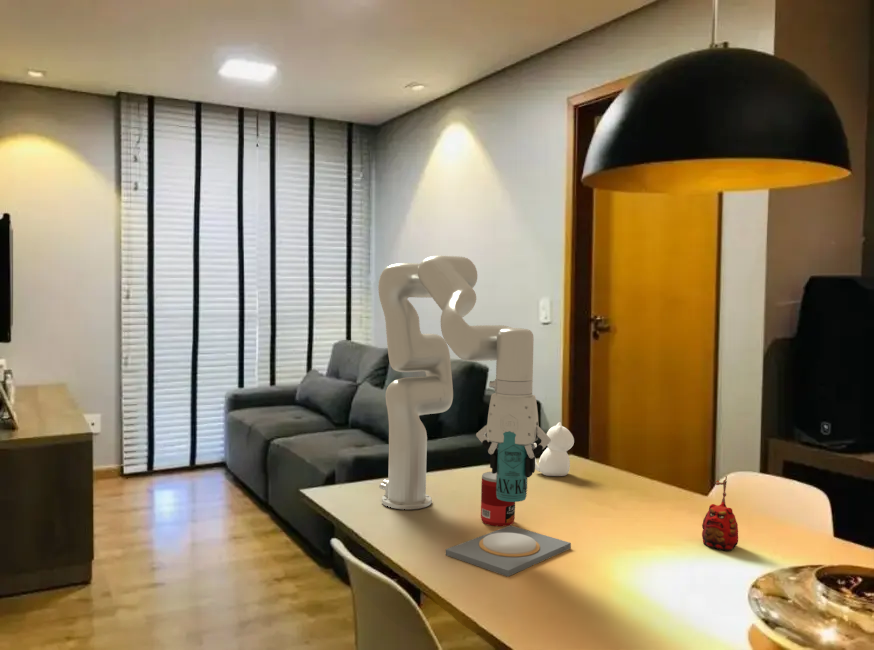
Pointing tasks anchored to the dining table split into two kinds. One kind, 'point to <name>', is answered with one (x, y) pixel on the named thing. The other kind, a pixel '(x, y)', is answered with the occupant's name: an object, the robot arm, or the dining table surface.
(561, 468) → the cat figurine
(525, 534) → the board
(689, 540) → the dining table surface
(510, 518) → the canned food
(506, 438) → the beverage bottle
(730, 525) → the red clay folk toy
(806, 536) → the dining table surface
